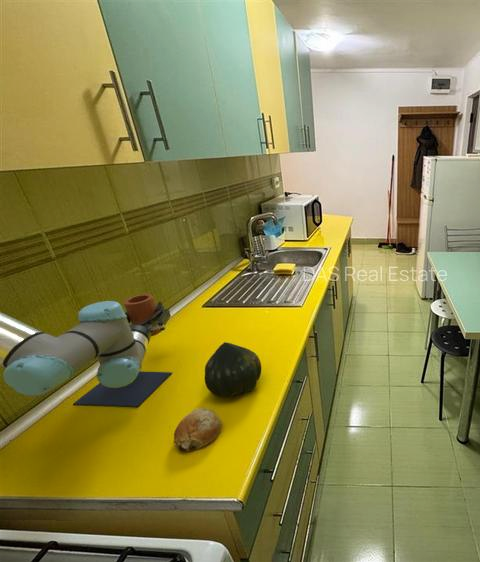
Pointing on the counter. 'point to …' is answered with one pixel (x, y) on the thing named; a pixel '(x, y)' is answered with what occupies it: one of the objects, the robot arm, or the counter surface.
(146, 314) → the jar
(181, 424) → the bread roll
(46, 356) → the robot arm
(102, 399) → the cloth
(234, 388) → the squash
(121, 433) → the counter surface
